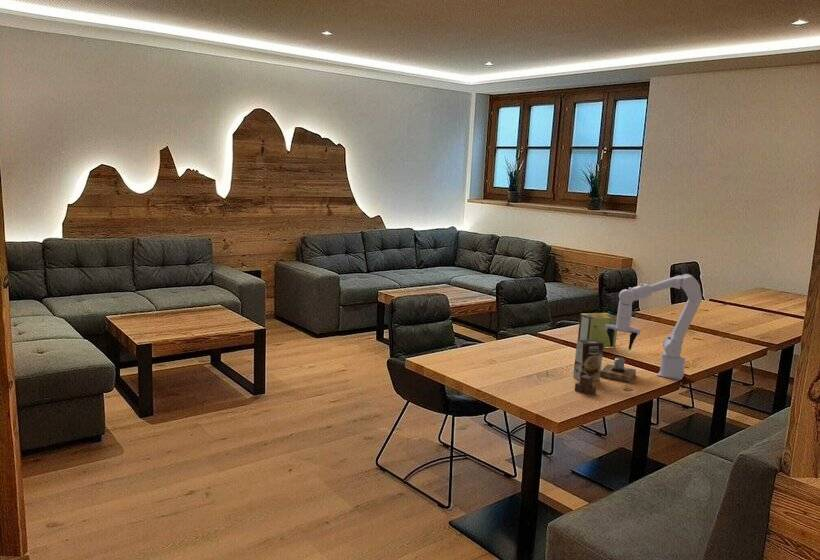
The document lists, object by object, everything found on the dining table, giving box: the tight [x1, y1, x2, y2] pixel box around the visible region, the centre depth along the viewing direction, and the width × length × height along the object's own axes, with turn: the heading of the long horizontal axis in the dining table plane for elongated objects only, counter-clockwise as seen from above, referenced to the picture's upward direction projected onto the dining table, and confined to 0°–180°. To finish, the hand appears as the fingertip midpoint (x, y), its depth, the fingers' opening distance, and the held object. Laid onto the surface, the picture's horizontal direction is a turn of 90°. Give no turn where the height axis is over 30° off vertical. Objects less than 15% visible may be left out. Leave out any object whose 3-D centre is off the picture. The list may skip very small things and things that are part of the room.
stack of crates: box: [574, 375, 597, 396], centre depth 250 cm, size 15×15×7 cm
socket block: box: [600, 363, 637, 383], centre depth 270 cm, size 12×12×2 cm
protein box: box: [577, 312, 618, 349], centre depth 314 cm, size 10×15×16 cm
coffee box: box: [572, 339, 604, 382], centre depth 263 cm, size 9×6×16 cm
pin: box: [613, 356, 626, 373], centre depth 270 cm, size 4×4×7 cm
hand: (620, 347), depth 277 cm, fingers open, 7 cm apart
